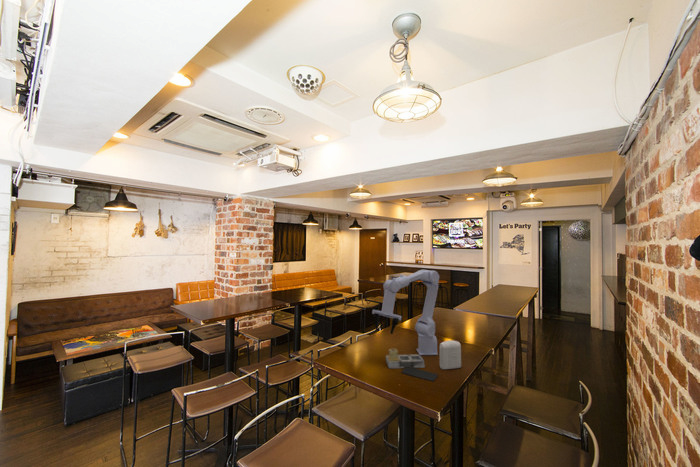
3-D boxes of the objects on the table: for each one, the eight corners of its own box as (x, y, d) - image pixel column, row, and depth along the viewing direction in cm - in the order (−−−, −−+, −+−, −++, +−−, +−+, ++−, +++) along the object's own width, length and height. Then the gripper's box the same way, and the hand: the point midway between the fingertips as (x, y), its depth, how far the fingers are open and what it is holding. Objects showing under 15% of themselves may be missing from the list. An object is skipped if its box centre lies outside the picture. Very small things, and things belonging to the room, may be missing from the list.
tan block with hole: (397, 362, 138) (397, 347, 138) (399, 366, 133) (399, 351, 133) (387, 362, 138) (387, 348, 138) (389, 367, 133) (389, 352, 133)
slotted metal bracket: (419, 360, 140) (419, 354, 140) (424, 367, 132) (424, 361, 132) (385, 361, 139) (385, 355, 140) (388, 368, 131) (388, 362, 132)
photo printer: (457, 364, 135) (456, 338, 136) (462, 368, 131) (462, 341, 132) (438, 366, 133) (437, 340, 133) (443, 370, 129) (442, 343, 129)
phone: (433, 381, 118) (400, 372, 127) (433, 383, 118) (400, 374, 127) (438, 374, 125) (406, 366, 133) (438, 376, 125) (406, 367, 133)
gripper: (372, 301, 139) (367, 329, 137) (401, 307, 134) (396, 336, 132) (376, 300, 146) (371, 327, 144) (403, 306, 140) (399, 334, 138)
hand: (383, 331), depth 138 cm, fingers open, 7 cm apart
